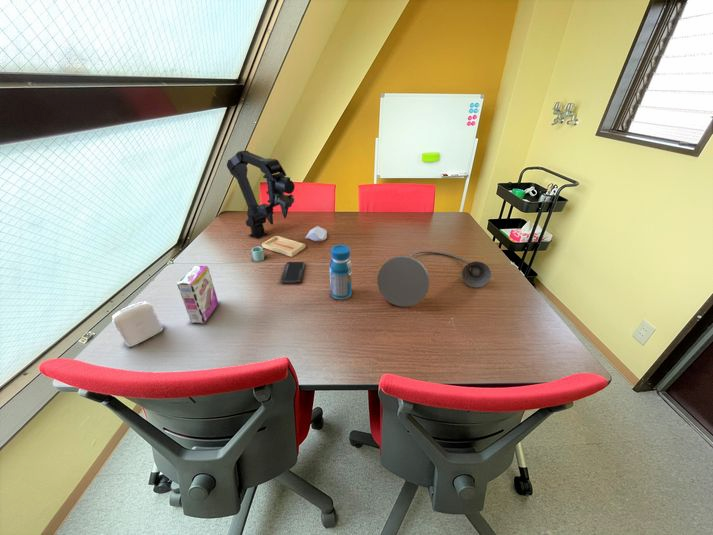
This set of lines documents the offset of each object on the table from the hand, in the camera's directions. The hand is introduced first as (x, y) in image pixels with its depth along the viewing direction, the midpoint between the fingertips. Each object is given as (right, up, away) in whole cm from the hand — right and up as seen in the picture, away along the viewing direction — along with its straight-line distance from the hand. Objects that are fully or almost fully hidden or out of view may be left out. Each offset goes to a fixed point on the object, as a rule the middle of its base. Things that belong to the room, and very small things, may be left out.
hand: (278, 221), depth 139 cm
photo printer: (-30, -45, -47) cm, 71 cm away
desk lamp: (+71, -28, -17) cm, 79 cm away
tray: (+1, -13, +4) cm, 13 cm away
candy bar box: (-16, -39, -37) cm, 56 cm away
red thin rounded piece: (+2, -12, +4) cm, 12 cm away
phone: (+11, -25, -15) cm, 31 cm away
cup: (-8, -18, -5) cm, 20 cm away
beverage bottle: (+32, -33, -26) cm, 53 cm away
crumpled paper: (+17, -8, +13) cm, 23 cm away
